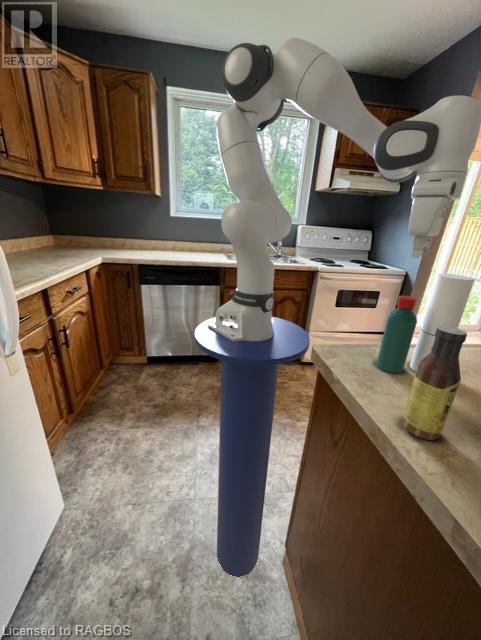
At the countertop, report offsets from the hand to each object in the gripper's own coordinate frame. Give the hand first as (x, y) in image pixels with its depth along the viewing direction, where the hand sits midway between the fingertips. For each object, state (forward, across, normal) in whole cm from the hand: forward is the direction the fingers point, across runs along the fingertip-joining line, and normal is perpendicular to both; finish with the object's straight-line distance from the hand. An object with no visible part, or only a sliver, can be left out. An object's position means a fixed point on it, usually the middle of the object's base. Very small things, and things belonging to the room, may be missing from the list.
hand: (419, 256), depth 63 cm
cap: (+10, 0, 0) cm, 10 cm away
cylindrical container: (+29, -5, +8) cm, 31 cm away
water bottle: (+29, 0, 0) cm, 29 cm away
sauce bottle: (+29, +22, +10) cm, 38 cm away
